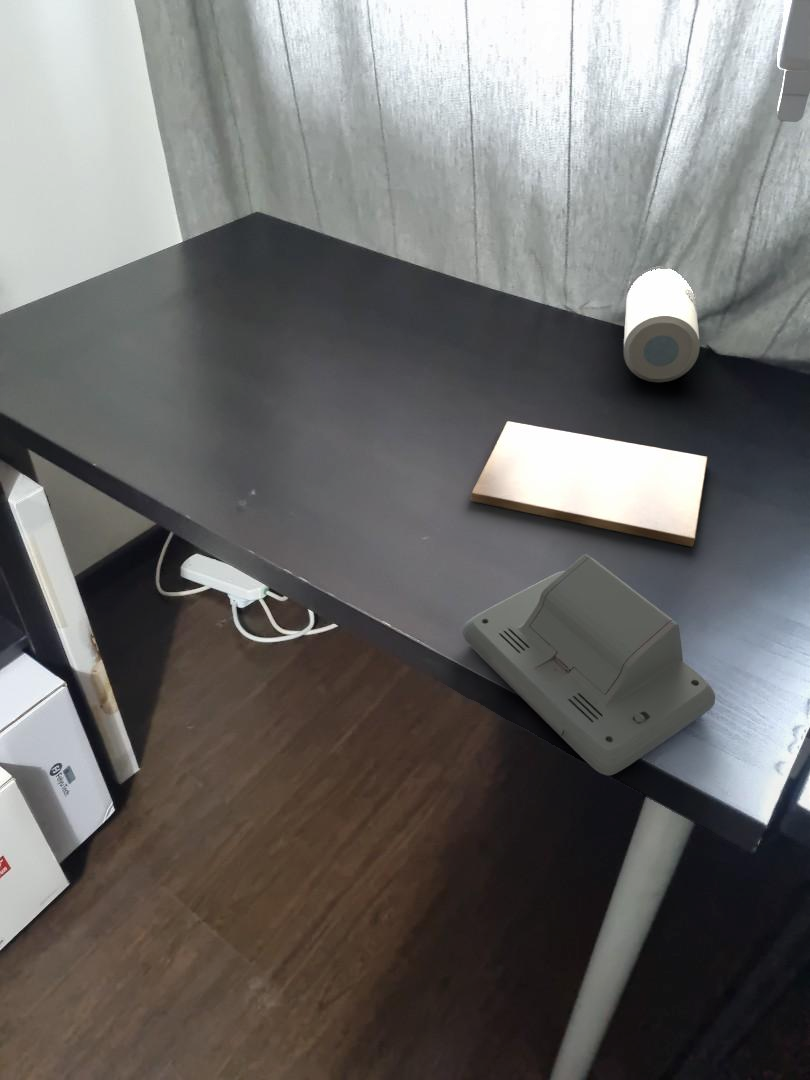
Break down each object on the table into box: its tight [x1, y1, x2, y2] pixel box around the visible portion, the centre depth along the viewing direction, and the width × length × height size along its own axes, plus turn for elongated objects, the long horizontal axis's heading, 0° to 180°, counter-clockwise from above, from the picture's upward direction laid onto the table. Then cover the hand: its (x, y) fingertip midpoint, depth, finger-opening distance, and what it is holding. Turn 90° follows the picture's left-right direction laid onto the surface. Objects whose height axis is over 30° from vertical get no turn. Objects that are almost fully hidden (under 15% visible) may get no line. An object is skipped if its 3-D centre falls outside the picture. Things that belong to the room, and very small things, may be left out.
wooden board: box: [470, 420, 708, 548], centre depth 78 cm, size 20×13×1 cm, turn 70°
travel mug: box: [623, 266, 701, 383], centre depth 97 cm, size 8×8×18 cm
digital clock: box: [461, 553, 716, 776], centre depth 59 cm, size 16×9×11 cm
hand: (788, 117), depth 62 cm, fingers closed
